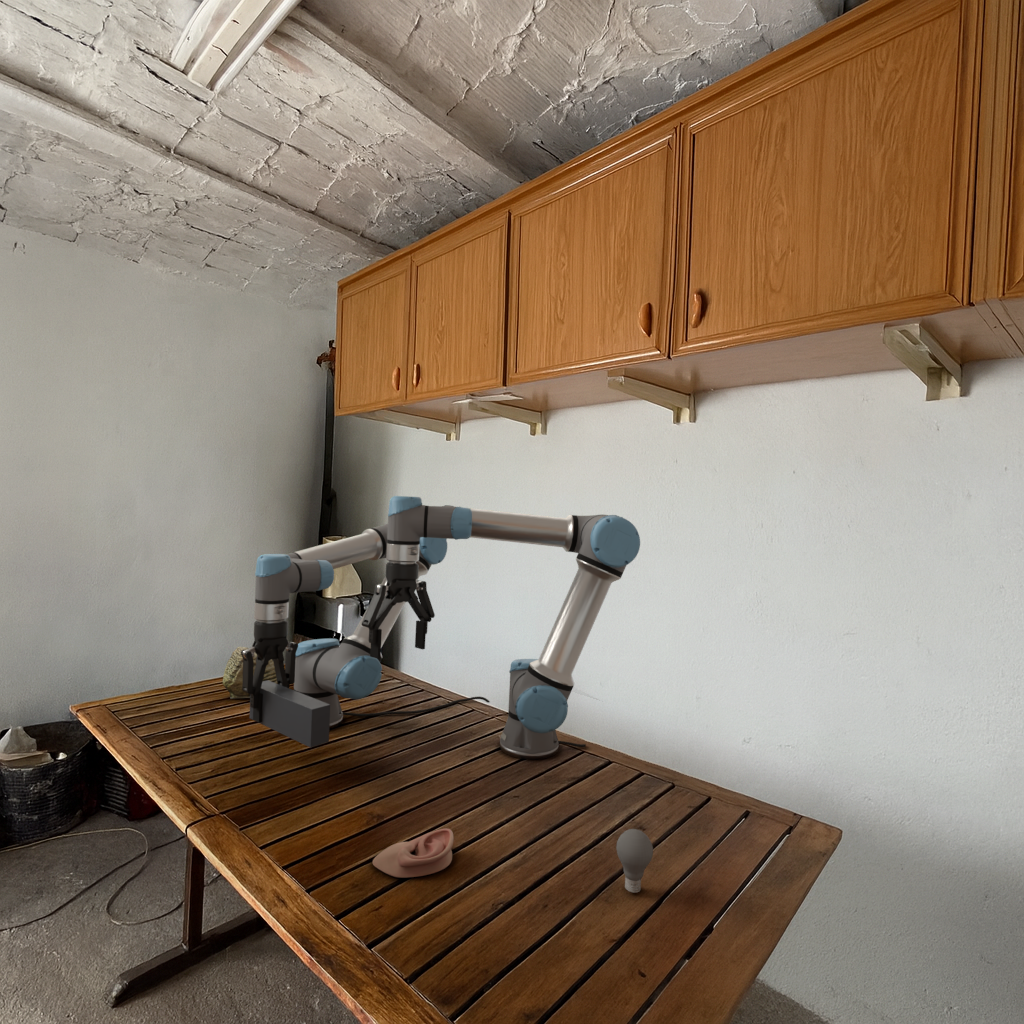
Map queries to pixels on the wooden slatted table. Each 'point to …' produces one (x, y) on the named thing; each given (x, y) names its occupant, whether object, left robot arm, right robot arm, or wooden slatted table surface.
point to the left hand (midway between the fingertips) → (267, 717)
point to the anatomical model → (417, 855)
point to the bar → (294, 714)
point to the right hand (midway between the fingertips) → (398, 652)
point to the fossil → (235, 674)
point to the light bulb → (634, 857)
